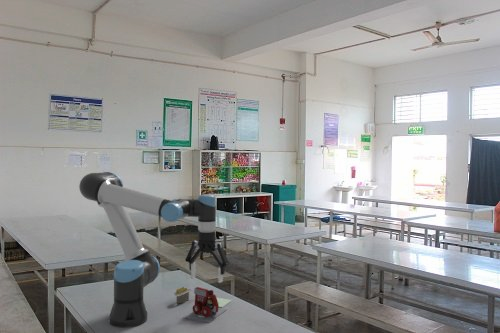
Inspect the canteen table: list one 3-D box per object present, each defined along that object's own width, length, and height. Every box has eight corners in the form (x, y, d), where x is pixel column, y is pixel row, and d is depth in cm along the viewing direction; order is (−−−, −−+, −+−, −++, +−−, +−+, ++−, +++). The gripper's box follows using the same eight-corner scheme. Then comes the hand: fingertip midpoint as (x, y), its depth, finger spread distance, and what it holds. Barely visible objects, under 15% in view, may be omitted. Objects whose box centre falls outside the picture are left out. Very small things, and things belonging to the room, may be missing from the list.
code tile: (208, 322, 166) (208, 322, 166) (183, 317, 171) (183, 317, 171) (226, 310, 180) (226, 309, 180) (203, 305, 185) (203, 305, 185)
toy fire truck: (212, 318, 169) (212, 294, 169) (189, 312, 176) (189, 288, 176) (222, 313, 175) (222, 289, 175) (199, 307, 182) (200, 284, 182)
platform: (158, 305, 186) (159, 291, 186) (184, 294, 202) (184, 281, 201) (179, 310, 180) (179, 296, 180) (203, 299, 195) (203, 285, 195)
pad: (222, 307, 183) (222, 306, 183) (203, 304, 187) (203, 303, 187) (232, 301, 192) (232, 300, 192) (213, 297, 196) (213, 297, 196)
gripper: (236, 231, 173) (236, 281, 174) (187, 227, 184) (186, 274, 184) (228, 234, 167) (228, 286, 167) (177, 230, 177) (177, 278, 177)
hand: (206, 280), depth 175 cm, fingers open, 13 cm apart
